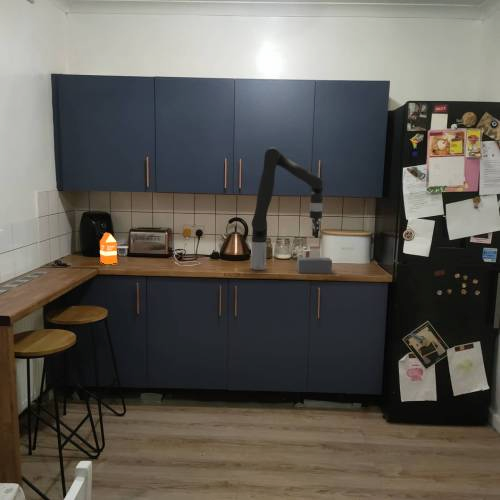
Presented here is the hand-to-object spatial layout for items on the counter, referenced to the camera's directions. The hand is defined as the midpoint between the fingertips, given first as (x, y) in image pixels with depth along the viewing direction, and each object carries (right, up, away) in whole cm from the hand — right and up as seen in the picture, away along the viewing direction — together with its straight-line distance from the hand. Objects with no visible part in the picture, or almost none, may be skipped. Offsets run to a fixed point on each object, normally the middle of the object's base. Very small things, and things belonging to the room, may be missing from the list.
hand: (315, 236), depth 281 cm
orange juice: (-132, -17, +18) cm, 134 cm away
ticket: (0, -19, +3) cm, 20 cm away
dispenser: (0, -21, +3) cm, 22 cm away
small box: (-1, -19, +22) cm, 29 cm away
